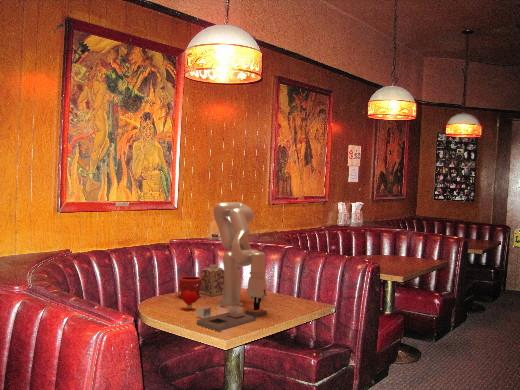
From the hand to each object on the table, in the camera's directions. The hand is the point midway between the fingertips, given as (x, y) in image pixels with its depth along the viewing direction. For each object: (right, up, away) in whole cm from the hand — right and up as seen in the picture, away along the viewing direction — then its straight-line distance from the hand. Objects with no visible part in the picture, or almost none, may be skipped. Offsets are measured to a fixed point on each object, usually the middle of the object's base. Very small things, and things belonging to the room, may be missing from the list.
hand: (256, 309), depth 271 cm
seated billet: (-11, -3, -10) cm, 15 cm away
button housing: (0, -4, 0) cm, 4 cm away
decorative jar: (-28, -1, +48) cm, 55 cm away
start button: (0, -3, 0) cm, 3 cm away
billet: (-27, -3, -8) cm, 29 cm away
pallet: (-15, -4, -15) cm, 21 cm away
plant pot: (-40, -1, +36) cm, 54 cm away
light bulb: (-37, -2, +10) cm, 38 cm away
